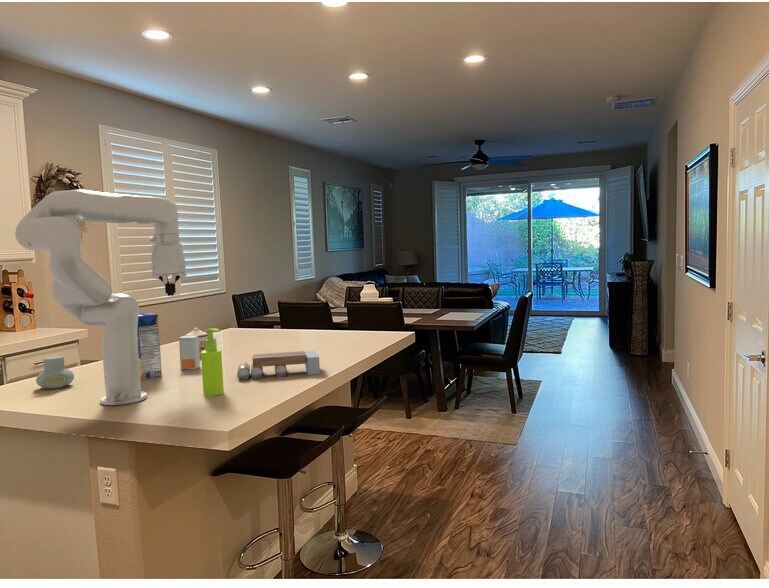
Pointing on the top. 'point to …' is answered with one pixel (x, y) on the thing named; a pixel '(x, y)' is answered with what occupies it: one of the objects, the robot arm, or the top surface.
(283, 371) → the roller
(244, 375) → the roller
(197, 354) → the skincare box
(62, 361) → the air freshener
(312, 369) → the stop block
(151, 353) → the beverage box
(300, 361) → the slab
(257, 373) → the roller middle
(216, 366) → the soap dispenser
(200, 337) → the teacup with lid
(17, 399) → the top surface
